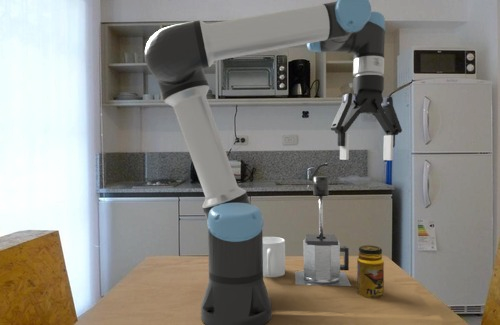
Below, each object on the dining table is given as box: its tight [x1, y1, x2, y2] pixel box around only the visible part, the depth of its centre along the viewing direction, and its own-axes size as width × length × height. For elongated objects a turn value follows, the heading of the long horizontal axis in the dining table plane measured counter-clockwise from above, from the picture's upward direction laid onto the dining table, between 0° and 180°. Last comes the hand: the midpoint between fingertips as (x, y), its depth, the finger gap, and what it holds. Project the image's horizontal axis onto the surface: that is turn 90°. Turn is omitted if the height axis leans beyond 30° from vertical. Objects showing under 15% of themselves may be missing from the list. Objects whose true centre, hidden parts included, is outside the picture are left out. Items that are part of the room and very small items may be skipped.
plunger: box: [312, 176, 329, 239], centre depth 99 cm, size 7×7×19 cm
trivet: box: [294, 270, 352, 287], centre depth 100 cm, size 14×11×1 cm
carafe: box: [302, 233, 350, 284], centre depth 100 cm, size 12×10×11 cm
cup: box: [263, 236, 286, 278], centre depth 103 cm, size 8×12×10 cm
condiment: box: [356, 244, 385, 299], centre depth 89 cm, size 7×8×12 cm
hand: (366, 160), depth 94 cm, fingers open, 13 cm apart
